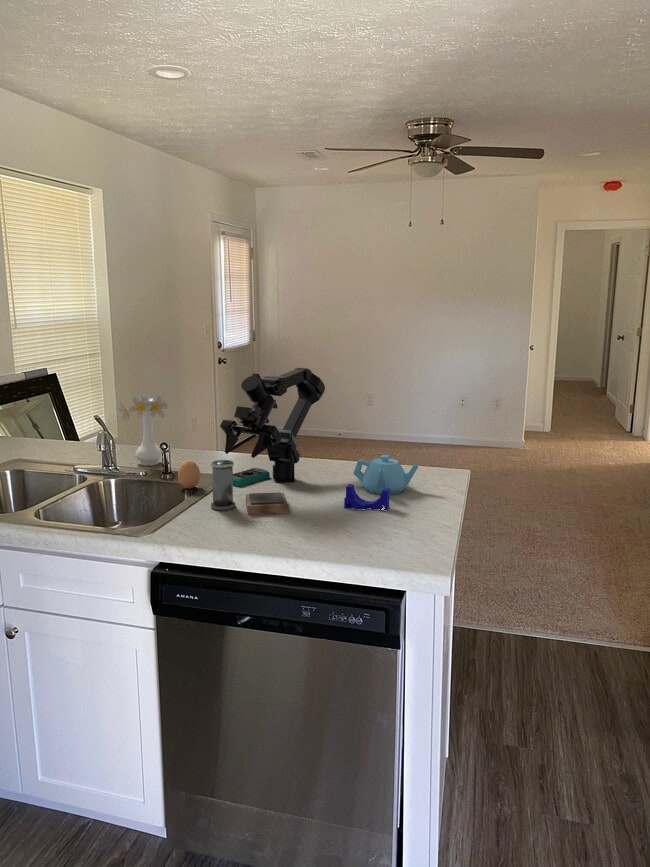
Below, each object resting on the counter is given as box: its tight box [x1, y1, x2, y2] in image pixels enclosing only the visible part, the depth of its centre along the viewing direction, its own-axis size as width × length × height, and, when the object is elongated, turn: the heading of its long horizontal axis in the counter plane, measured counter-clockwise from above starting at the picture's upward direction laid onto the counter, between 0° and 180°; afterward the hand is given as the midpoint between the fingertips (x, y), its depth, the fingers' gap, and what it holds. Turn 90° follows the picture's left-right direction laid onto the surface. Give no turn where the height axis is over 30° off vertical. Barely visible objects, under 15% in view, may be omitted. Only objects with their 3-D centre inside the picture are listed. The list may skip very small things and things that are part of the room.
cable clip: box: [343, 483, 391, 511], centre depth 189 cm, size 12×4×6 cm, turn 72°
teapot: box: [352, 454, 419, 495], centre depth 207 cm, size 15×15×11 cm
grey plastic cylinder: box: [210, 459, 236, 512], centre depth 187 cm, size 7×7×13 cm
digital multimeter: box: [233, 467, 271, 488], centre depth 216 cm, size 7×15×3 cm, turn 141°
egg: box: [177, 459, 201, 490], centre depth 205 cm, size 7×7×9 cm
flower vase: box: [117, 391, 172, 467], centre depth 231 cm, size 13×18×25 cm
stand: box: [245, 492, 289, 516], centre depth 188 cm, size 11×11×3 cm
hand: (239, 455), depth 192 cm, fingers open, 9 cm apart
